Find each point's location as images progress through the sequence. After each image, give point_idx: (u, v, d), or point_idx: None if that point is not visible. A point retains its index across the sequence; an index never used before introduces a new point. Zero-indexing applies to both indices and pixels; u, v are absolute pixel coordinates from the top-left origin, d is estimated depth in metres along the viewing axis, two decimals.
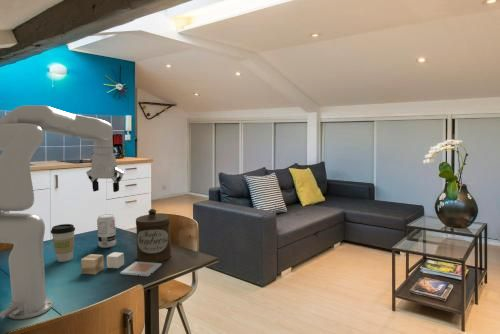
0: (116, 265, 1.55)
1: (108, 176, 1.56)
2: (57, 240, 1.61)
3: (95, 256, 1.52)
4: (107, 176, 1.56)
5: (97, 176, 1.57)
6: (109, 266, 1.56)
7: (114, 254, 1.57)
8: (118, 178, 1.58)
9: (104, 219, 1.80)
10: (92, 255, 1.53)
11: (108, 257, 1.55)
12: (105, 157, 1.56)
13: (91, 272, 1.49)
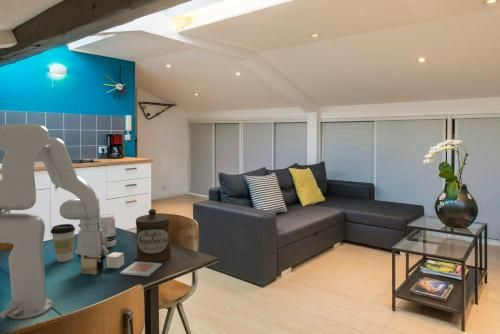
0: (116, 265, 1.55)
1: (95, 254, 1.48)
2: (57, 240, 1.61)
3: (95, 256, 1.52)
4: (94, 254, 1.48)
5: (84, 253, 1.49)
6: (109, 266, 1.56)
7: (114, 254, 1.57)
8: (102, 257, 1.50)
9: (104, 219, 1.80)
10: None
11: (108, 257, 1.55)
12: (91, 234, 1.48)
13: (91, 272, 1.49)
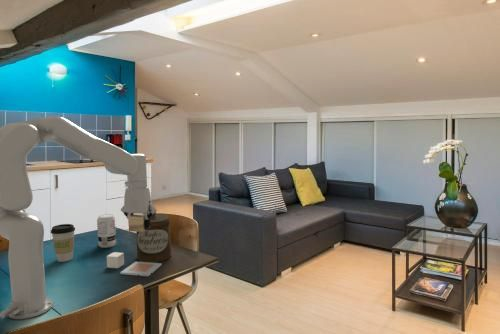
0: (116, 265, 1.55)
1: (143, 211, 1.47)
2: (57, 240, 1.61)
3: (141, 214, 1.52)
4: (141, 211, 1.47)
5: (131, 211, 1.48)
6: (109, 266, 1.56)
7: (114, 254, 1.57)
8: (149, 215, 1.49)
9: (104, 219, 1.80)
10: (138, 214, 1.52)
11: (108, 257, 1.55)
12: (139, 191, 1.47)
13: (138, 229, 1.48)
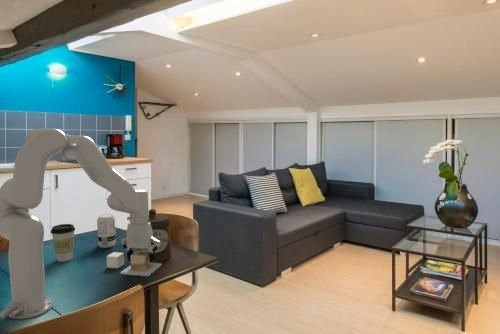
0: (116, 265, 1.55)
1: (145, 247, 1.49)
2: (57, 240, 1.61)
3: (143, 252, 1.53)
4: (143, 247, 1.49)
5: (133, 246, 1.50)
6: (109, 266, 1.56)
7: (114, 254, 1.57)
8: (155, 248, 1.50)
9: (104, 219, 1.80)
10: (140, 252, 1.54)
11: (108, 257, 1.55)
12: (141, 227, 1.48)
13: (140, 268, 1.50)
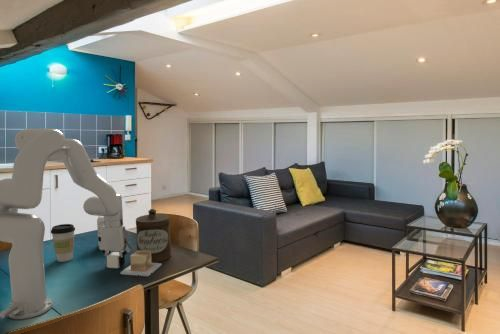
0: (116, 264, 1.55)
1: (118, 249, 1.54)
2: (57, 240, 1.61)
3: (143, 252, 1.53)
4: (117, 249, 1.54)
5: (107, 249, 1.55)
6: (109, 266, 1.56)
7: (114, 254, 1.57)
8: (124, 253, 1.55)
9: None
10: (140, 252, 1.54)
11: (108, 257, 1.55)
12: (115, 229, 1.53)
13: (140, 268, 1.50)
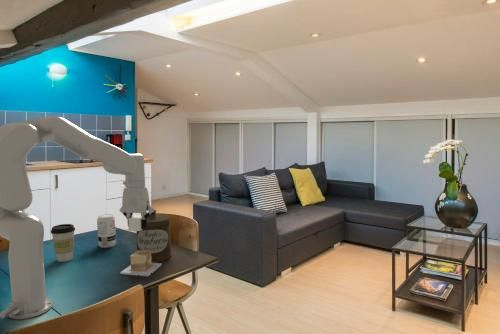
0: (138, 227, 1.49)
1: (141, 211, 1.48)
2: (57, 240, 1.61)
3: (143, 252, 1.53)
4: (140, 211, 1.48)
5: (129, 211, 1.49)
6: (131, 229, 1.50)
7: (136, 217, 1.51)
8: (146, 215, 1.50)
9: (104, 219, 1.80)
10: (140, 252, 1.54)
11: (130, 219, 1.49)
12: (137, 190, 1.47)
13: (140, 268, 1.50)
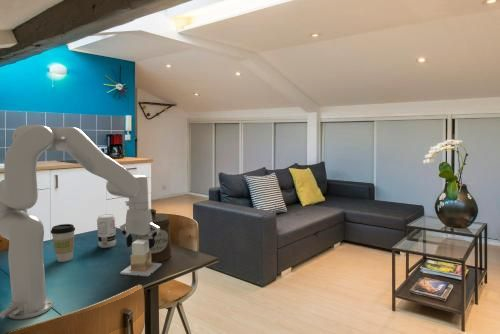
0: (142, 252, 1.50)
1: (144, 233, 1.48)
2: (57, 240, 1.61)
3: None
4: (143, 232, 1.48)
5: (132, 232, 1.49)
6: (134, 253, 1.50)
7: (139, 241, 1.52)
8: (154, 234, 1.49)
9: (104, 219, 1.80)
10: None
11: (133, 244, 1.50)
12: (140, 212, 1.48)
13: (140, 268, 1.50)
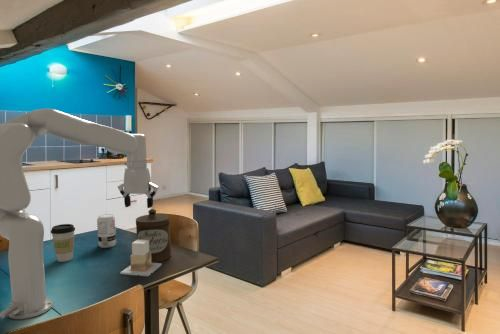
0: (142, 252, 1.50)
1: (142, 192, 1.46)
2: (57, 240, 1.61)
3: None
4: (141, 191, 1.46)
5: (131, 191, 1.47)
6: (134, 253, 1.50)
7: (139, 241, 1.52)
8: (152, 193, 1.48)
9: (104, 219, 1.80)
10: None
11: (133, 244, 1.50)
12: (139, 171, 1.46)
13: (140, 268, 1.50)
